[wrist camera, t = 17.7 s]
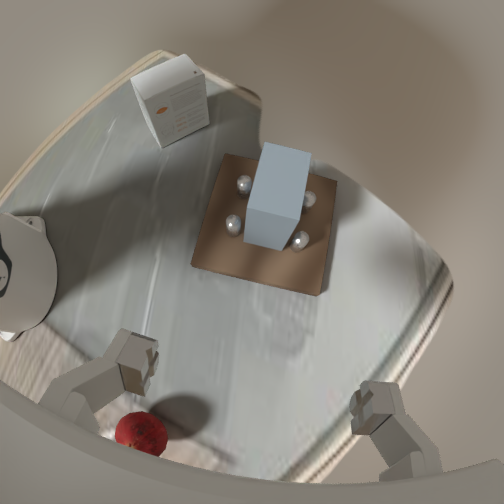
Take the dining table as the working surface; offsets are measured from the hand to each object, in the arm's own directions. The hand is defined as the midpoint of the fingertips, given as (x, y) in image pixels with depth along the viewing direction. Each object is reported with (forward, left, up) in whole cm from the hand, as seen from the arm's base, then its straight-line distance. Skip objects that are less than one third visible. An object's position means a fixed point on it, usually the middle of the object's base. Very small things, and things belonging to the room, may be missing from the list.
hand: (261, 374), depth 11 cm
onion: (-8, -13, -23) cm, 28 cm away
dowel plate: (0, +15, -23) cm, 27 cm away
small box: (-16, +27, -23) cm, 39 cm away
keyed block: (0, +15, -22) cm, 26 cm away
